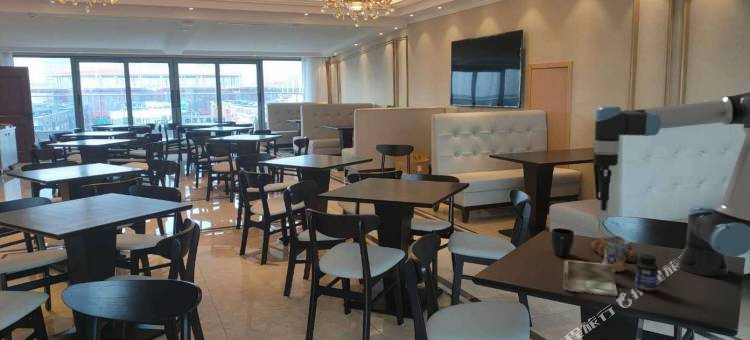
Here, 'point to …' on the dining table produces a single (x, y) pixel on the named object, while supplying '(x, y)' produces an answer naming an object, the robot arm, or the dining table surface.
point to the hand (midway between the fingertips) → (602, 215)
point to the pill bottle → (646, 273)
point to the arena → (589, 277)
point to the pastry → (599, 249)
